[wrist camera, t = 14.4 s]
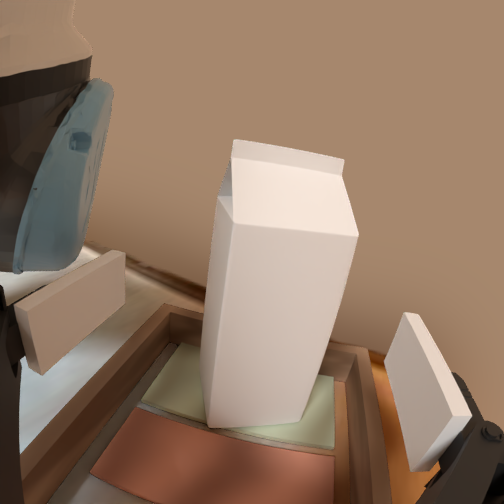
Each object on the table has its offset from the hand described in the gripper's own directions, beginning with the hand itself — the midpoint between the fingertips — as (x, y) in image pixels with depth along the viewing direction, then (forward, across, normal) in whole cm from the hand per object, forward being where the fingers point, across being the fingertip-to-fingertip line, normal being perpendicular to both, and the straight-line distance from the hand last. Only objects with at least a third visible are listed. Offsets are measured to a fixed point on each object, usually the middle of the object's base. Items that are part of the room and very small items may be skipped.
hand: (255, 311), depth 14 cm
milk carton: (+7, 0, -12) cm, 14 cm away
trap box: (-5, 0, -12) cm, 13 cm away
